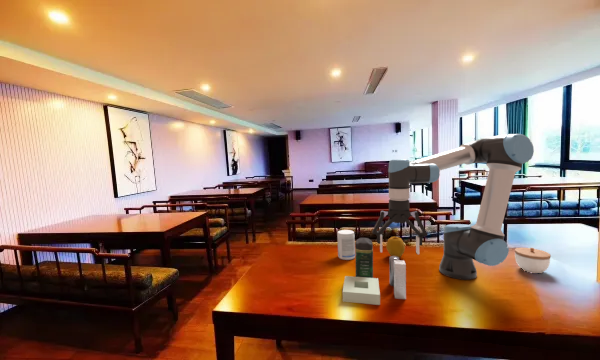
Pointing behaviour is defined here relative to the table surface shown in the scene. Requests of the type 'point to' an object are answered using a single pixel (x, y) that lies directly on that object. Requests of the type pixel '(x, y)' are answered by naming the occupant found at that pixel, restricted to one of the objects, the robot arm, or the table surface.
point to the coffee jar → (364, 257)
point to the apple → (395, 246)
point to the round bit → (392, 268)
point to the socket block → (361, 290)
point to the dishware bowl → (532, 259)
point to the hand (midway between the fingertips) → (399, 252)
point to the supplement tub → (346, 244)
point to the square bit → (399, 279)
